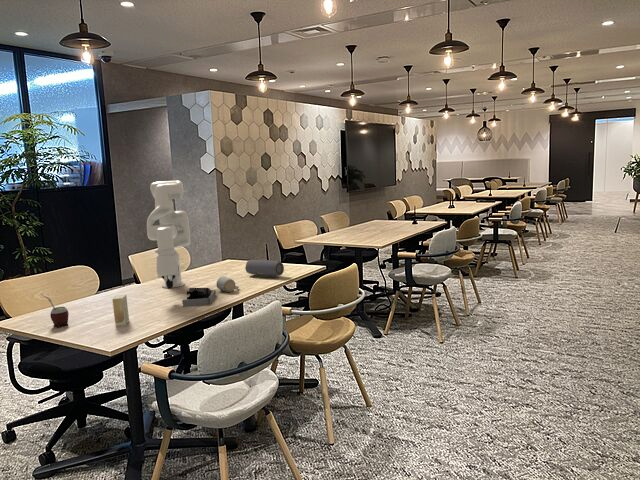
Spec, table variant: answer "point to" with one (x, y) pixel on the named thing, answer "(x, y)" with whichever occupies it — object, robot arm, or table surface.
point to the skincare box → (120, 310)
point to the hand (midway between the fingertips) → (170, 288)
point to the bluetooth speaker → (264, 268)
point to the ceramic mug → (226, 284)
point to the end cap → (198, 293)
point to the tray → (200, 300)
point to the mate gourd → (59, 315)
